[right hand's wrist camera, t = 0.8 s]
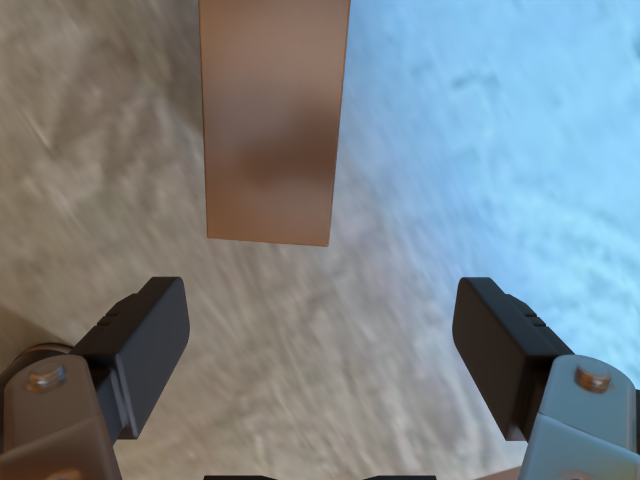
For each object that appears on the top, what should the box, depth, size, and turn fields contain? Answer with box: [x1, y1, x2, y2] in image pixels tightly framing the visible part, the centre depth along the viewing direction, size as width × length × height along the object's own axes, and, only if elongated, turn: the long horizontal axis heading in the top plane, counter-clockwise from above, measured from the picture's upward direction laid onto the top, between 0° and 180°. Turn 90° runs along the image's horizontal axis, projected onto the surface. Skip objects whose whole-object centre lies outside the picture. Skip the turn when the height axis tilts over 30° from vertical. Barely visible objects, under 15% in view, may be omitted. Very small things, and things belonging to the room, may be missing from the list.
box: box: [198, 0, 351, 247], centre depth 21 cm, size 23×6×13 cm, turn 176°
